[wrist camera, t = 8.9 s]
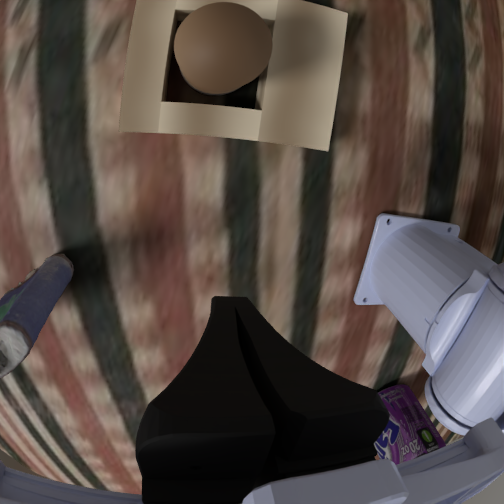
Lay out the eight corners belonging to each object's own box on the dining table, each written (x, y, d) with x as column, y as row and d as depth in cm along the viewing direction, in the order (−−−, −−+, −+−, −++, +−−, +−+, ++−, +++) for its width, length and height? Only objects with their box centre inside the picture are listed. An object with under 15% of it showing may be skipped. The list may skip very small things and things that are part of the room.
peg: (252, 39, 17) (279, 8, 11) (244, 100, 18) (267, 95, 12) (185, 33, 16) (180, -3, 10) (177, 94, 18) (166, 87, 11)
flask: (61, 245, 20) (-7, 341, 11) (85, 276, 22) (34, 382, 12) (-3, 297, 21) (-60, 383, 11) (18, 322, 22) (-30, 413, 13)
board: (331, 21, 17) (347, 13, 14) (314, 145, 20) (328, 151, 18) (146, -4, 14) (140, -17, 12) (127, 128, 18) (118, 131, 16)
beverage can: (384, 376, 32) (433, 457, 22) (417, 383, 35) (462, 452, 24) (346, 415, 34) (382, 495, 24) (381, 419, 37) (417, 487, 26)
